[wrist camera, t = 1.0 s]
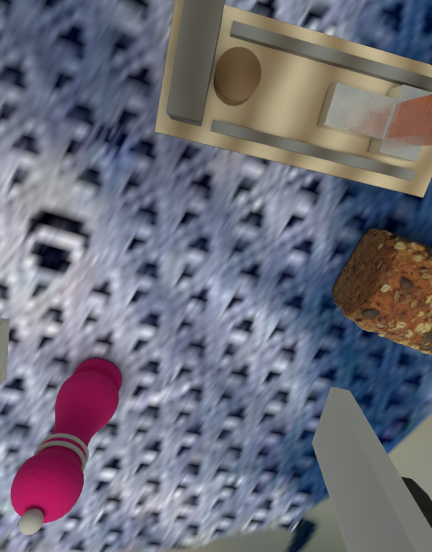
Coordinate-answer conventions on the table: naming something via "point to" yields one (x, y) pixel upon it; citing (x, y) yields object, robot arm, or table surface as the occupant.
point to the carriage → (382, 118)
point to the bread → (389, 289)
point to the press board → (282, 94)
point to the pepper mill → (66, 446)
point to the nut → (237, 76)
